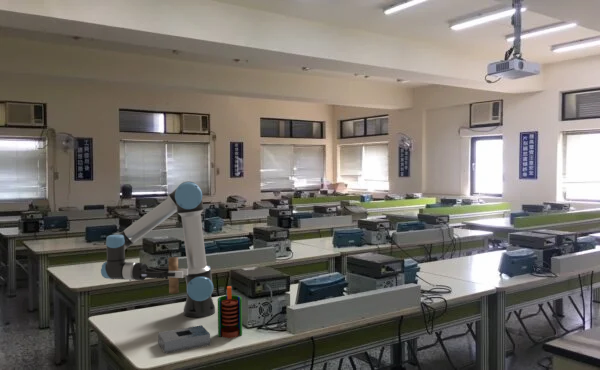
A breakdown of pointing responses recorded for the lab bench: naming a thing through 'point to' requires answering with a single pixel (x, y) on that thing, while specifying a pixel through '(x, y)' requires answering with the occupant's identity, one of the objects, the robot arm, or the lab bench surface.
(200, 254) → the robot arm
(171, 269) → the pin
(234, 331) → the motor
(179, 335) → the hole block
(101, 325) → the lab bench surface
